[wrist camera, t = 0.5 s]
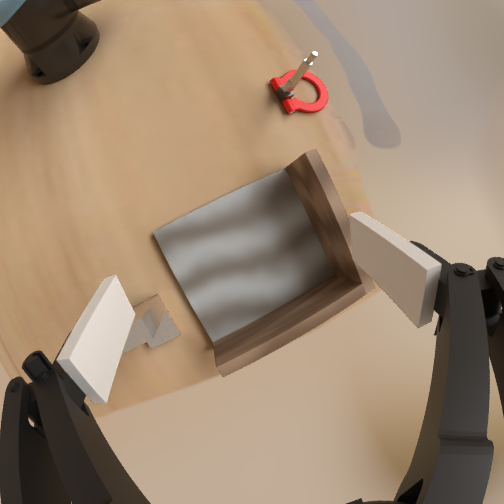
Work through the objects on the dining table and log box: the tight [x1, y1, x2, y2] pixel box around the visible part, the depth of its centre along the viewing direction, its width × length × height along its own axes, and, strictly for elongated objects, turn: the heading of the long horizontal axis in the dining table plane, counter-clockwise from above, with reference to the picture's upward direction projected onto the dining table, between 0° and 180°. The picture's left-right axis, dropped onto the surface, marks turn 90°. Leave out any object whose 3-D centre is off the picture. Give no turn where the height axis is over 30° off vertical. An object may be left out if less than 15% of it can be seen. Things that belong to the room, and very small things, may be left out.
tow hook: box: [270, 51, 328, 114], centre depth 33 cm, size 8×13×9 cm
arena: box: [153, 149, 375, 377], centre depth 34 cm, size 19×22×9 cm
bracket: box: [122, 294, 181, 354], centre depth 31 cm, size 6×5×12 cm
